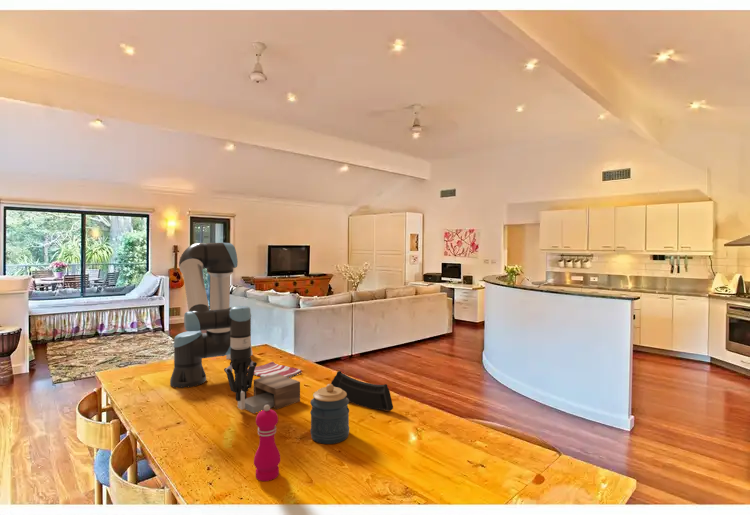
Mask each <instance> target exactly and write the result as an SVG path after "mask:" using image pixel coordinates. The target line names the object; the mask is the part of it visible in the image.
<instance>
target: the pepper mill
mask: <svg viewBox="0 0 750 515" xmlns="http://www.w3.org/2000/svg"><path fill="white" fill-rule="evenodd" d="M257 413H258V414H257V415H256V417H255V425H256V427H257V435H258V436H259V444H258V448H257V449H256V451H255V454H254V458H253V465H254V467H255V468H256V469H255V478H256V479H257V480H258V481H260V482H269V480H270V481H272V479H273V480H275V479H276V478H277V477H278V476H279V474H280V472H279V471H280V469H279V468H280V467H279V465H280V463H281V453H280V450H279V448H278V447H277V444H276V442H275V434H276V433H277V426H276V425H277V424H278V422H279V416H278V413H277V412H276V411H275V409H272V408H270V406H269V405H265V406H264V410H262V411H260V412H257Z"/></svg>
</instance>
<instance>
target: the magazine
mask: <svg viewBox="0 0 750 515" xmlns="http://www.w3.org/2000/svg"><path fill="white" fill-rule="evenodd" d="M330 384H332V385H333V386H334V387H338V388H341V389H342V390H344V391H345V392H346V393H347V396H346V397H347V398H348V399H349V403H351V404H354V405H357V406H360V407H364V408H367V409H375V410H380V411H387V412H389V411H393V409H394V405H393V400H392V397H391V396H392V395H391V391H390V389H389V387H388V384H387V383H386V384H385V383H384V384H376V383H369V382H365V381H361V380H358V379H356V378H352V377H350V376H349V375H347V374H345V373H342V371H341V370H338V371H337V372H336V375H335V376H334V378H333V379H332V380H331V383H330Z"/></svg>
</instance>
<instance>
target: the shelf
mask: <svg viewBox="0 0 750 515" xmlns="http://www.w3.org/2000/svg"><path fill="white" fill-rule="evenodd" d="M265 392H269V393H272V394H274V407H273V408H274V410H279V409H282V408H285V407H288V406H290V405H293V404H295V403H299V402H301V381H299V380H295V379H293V378H292V377H290V378H288V377H285V376H282V375H280V374H273V375H270V376H266V377H258V378H256V379H253V396H256V395H259V394H262V393H265Z"/></svg>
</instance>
